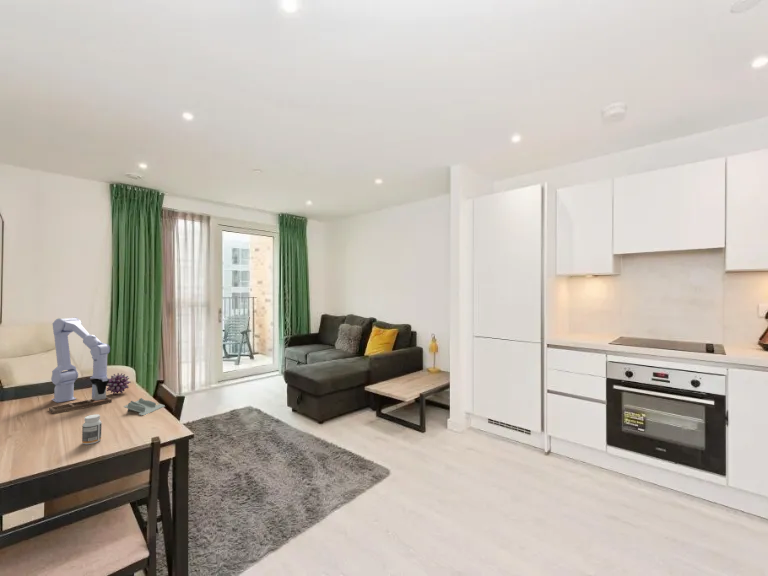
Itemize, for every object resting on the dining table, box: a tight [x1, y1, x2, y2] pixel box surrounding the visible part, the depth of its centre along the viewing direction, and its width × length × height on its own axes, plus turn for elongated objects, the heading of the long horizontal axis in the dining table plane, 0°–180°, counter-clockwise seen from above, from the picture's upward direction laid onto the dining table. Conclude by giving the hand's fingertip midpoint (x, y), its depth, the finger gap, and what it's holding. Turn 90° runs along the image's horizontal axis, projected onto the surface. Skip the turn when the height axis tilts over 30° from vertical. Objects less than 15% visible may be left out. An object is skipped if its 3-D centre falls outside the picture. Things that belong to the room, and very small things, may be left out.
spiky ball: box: [106, 372, 132, 395], centre depth 202 cm, size 12×12×12 cm
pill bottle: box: [81, 413, 103, 445], centre depth 137 cm, size 6×6×10 cm
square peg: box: [91, 383, 107, 401], centre depth 186 cm, size 5×5×8 cm
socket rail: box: [48, 396, 112, 415], centre depth 180 cm, size 8×23×2 cm, turn 146°
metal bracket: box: [123, 397, 166, 416], centre depth 174 cm, size 14×6×15 cm
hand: (99, 393), depth 186 cm, fingers closed on square peg, 5 cm apart
